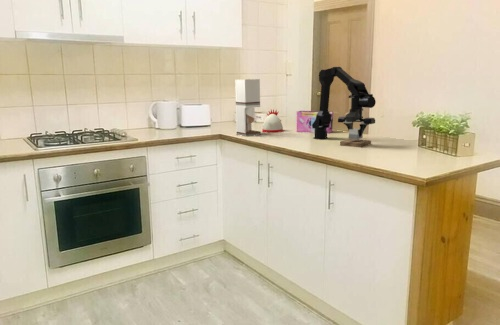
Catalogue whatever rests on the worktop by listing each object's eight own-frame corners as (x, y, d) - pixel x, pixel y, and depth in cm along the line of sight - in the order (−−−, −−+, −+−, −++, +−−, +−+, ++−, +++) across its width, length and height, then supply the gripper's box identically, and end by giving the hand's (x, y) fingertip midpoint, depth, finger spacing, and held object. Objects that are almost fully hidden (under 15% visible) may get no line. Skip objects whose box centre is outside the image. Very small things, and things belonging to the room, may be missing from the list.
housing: (348, 138, 218) (348, 129, 217) (353, 137, 223) (354, 128, 222) (357, 139, 215) (357, 129, 214) (362, 138, 219) (362, 128, 218)
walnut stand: (339, 145, 219) (340, 141, 218) (350, 142, 228) (350, 138, 227) (361, 147, 211) (361, 143, 211) (370, 144, 220) (371, 140, 220)
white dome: (283, 132, 274) (283, 109, 270) (262, 132, 274) (262, 110, 271) (282, 129, 287) (282, 108, 284) (262, 130, 288) (262, 108, 284)
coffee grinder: (246, 136, 258) (244, 79, 251) (236, 134, 267) (235, 79, 260) (260, 134, 265) (259, 79, 258) (250, 133, 273) (249, 79, 266)
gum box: (334, 132, 270) (335, 111, 267) (330, 133, 263) (331, 112, 261) (300, 130, 282) (300, 110, 279) (296, 131, 275) (296, 111, 272)
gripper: (333, 107, 215) (332, 137, 218) (367, 108, 204) (365, 139, 207) (343, 105, 224) (342, 134, 227) (376, 107, 212) (375, 137, 215)
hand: (355, 136), depth 219 cm, fingers closed on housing, 5 cm apart
